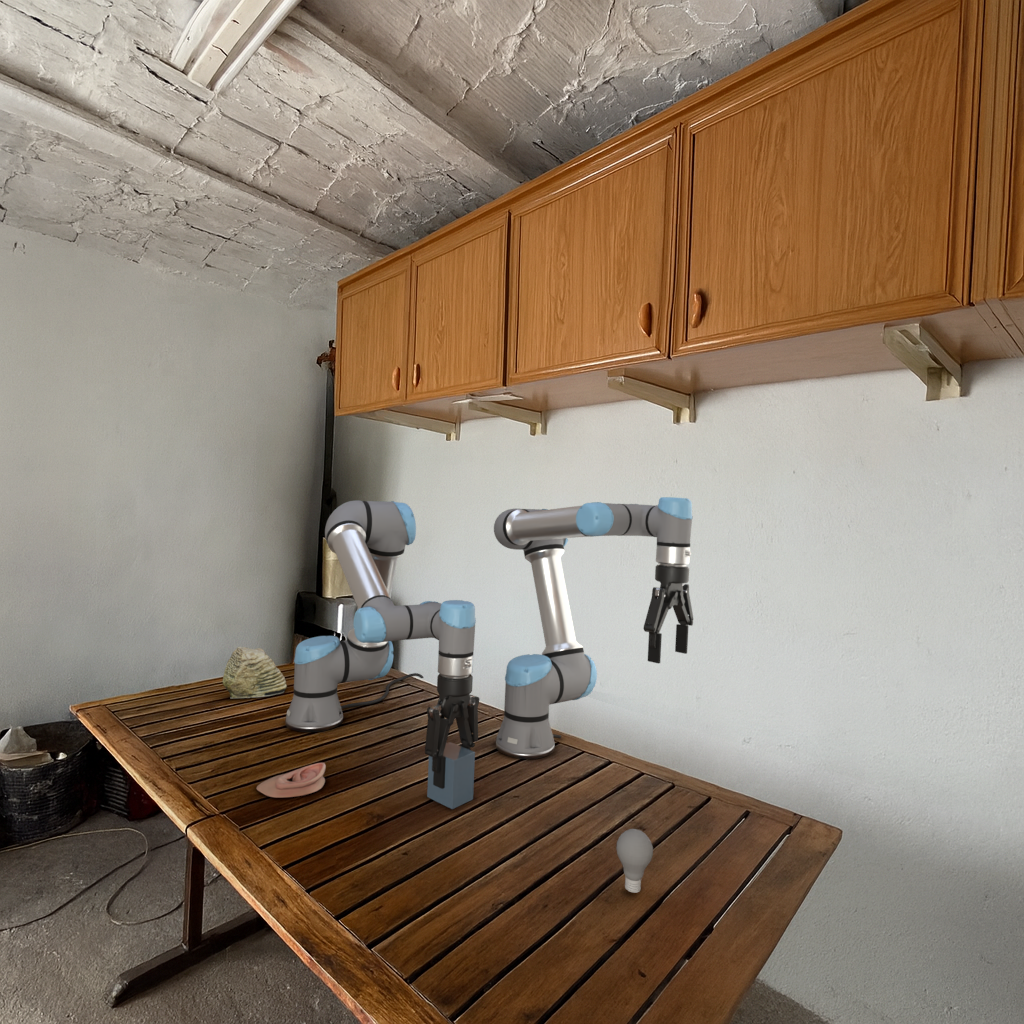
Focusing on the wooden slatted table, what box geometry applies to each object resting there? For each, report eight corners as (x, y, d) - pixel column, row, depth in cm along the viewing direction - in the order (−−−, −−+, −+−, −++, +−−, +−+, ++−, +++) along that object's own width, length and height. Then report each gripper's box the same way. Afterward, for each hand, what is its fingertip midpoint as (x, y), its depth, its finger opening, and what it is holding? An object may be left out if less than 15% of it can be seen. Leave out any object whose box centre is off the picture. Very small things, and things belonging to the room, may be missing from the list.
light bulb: (610, 879, 108) (613, 822, 108) (644, 879, 109) (647, 822, 109) (619, 902, 102) (622, 840, 102) (655, 901, 103) (658, 840, 103)
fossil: (218, 695, 195) (220, 647, 195) (278, 685, 208) (279, 640, 207) (228, 703, 189) (230, 653, 188) (289, 692, 201) (290, 645, 201)
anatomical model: (248, 775, 133) (279, 754, 144) (247, 794, 133) (278, 771, 144) (306, 783, 130) (332, 761, 142) (305, 802, 130) (332, 779, 142)
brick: (452, 809, 131) (454, 760, 131) (427, 796, 136) (428, 749, 136) (473, 799, 136) (475, 751, 135) (448, 787, 141) (450, 741, 140)
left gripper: (433, 686, 125) (429, 802, 126) (498, 669, 140) (493, 772, 141) (408, 678, 130) (404, 789, 131) (473, 662, 145) (469, 762, 145)
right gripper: (662, 569, 133) (657, 670, 133) (710, 563, 152) (706, 651, 152) (630, 565, 138) (625, 662, 138) (681, 560, 157) (677, 646, 157)
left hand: (450, 780), depth 136 cm, fingers closed on brick, 6 cm apart
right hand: (667, 657), depth 145 cm, fingers open, 13 cm apart
